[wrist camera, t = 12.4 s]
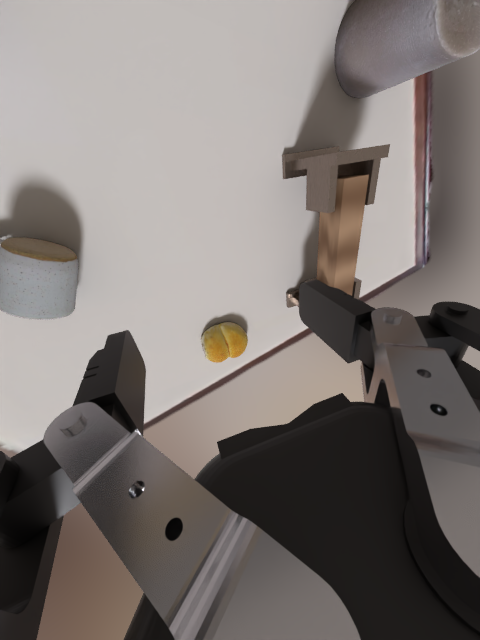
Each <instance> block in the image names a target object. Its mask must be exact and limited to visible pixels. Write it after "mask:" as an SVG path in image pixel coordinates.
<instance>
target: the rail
mask: <svg viewBox="0 0 480 640" xmlns="http://www.w3.org/2000/svg"><path fill="white" fill-rule="evenodd" d="M368 177H369V175H353V176H341V177H337V187H336V199H335V212H331V213H323V212H320V219H319V240H318V261H317V280H319V281H321V282H323V283H324V284H326V285H328V286H330V287H334V288H338V289H340V290H342V291H344V292H346V293H347V295H348V294H349V295H351V296H352V292H353V284H354V277H355V270H356V263H357V256H358V249H359V242H360V234H361V227H362V220H363V213H364V206H365V199H366V192H367V185H368Z"/></svg>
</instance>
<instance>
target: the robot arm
mask: <svg viewBox="0 0 480 640" xmlns="http://www.w3.org/2000/svg"><path fill="white" fill-rule="evenodd" d="M299 314H300V317H301V320H302V321H303V323H304V324H305V325H306V326H307V327H309V328H310V329H311V330H312V331H313V332H314V333H315V334H316V335H317V336H319V337H320V338H321V339H322V340H323V341H324V342H325V343H326V344H327V345H328V346H329V347H331V348H332V349H333V350H334V351H335V352H336V353H337V354H338V355H339V356H341V357H342V358H343V359H344V360H345V361H346V362H347V363H351V362H354V361H356V360H361V361H362V363H361V375H362V385H363V394H364V402H350V401H349V400H348V399H347V398H346V397H345V396H344V394H343V393H341V394H339V395H336V396H333V397H331V398H329V399H326V400H323V401H321V402H318V403H316V404H314V405H312V406H311V407H310V408H308V409H307V410H306V411H304V412H303V413H302V414H300V415H299V416H298V417H297V418H295V419H294V420H292V421H291V422H290V423H288V424H284V425H277V426H269V427H262V428H254V429H249V430H247V431H244V432H241V433H239V434H237V435H234V436H232V437H229V438H227V439H224V440H221V441H219V442H217V444H218V448H219V452H220V453H219V454H218V455H217V456H215V457H214V458H213V459H212V460H211V461H210V462H209V463H208V464H206V466H205V467H204V468H203V469H202V470H201V471H200V473H199V474H198V475H197V477H196V478H195V479H193V478H192V477H191V476H189V475H188V474H187V473H186V472H185V471H183V470H182V469H181V468H180V467H178V466H177V465H176V464H175V463H174V462H172V461H171V460H170V459H169V458H168V457H166V456H165V455H164V454H163V453H161V452H160V451H159V450H158V449H157V448H155V447H154V446H153V445H152V444H151V443H149V442H148V441H147V440H146V439H144V438H143V424H144V400H145V376H146V369H145V364H144V361H143V358H142V356H141V354H140V352H139V350H138V348H137V345H136V343H135V341H134V339H133V337H132V335H131V333H130V332H129V331H128V330H126V331H123V332H119V333H115V334H111V335H109V336H108V337H107V341H106V344H105V347H104V349H102V350H98V351H97V352H96V353H95V355H94V356H93V357H92V358H91V359H90V360H89V363H88V366H87V368H86V371H85V374H84V377H83V378H84V379H83V380H82V382H81V385H80V387H79V390H78V393H77V396H76V398H75V401H74V404H73V407H71V408H69V409H67V410H66V411H64V412H63V413H61V414H60V415H59V416H58V417H57V418H56V419H54V421H53V422H52V423H51V424H50V425H49V427H48V428H47V430H46V432H45V434H44V438H43V440H42V441H40V442H38V443H36V444H35V445H33V446H31V447H29V448H27V449H26V450H24V451H22V452H20V453H19V454H17V455H15V456H13V457H11V458H10V457H8V456H7V455H6V454H4V453H3V452H2V451H0V640H36V638H37V634H38V630H39V625H40V621H41V616H42V612H43V607H44V603H45V598H46V594H47V589H48V584H49V580H50V575H51V571H52V566H53V562H54V557H55V553H56V548H57V543H58V539H59V535H60V530H61V526H62V521H63V516H64V514H66V513H67V512H68V511H70V510H71V509H72V508H74V507H75V506H77V505H78V504H79V503H82V505H83V506H84V507H85V509H86V510H87V512H88V513H89V515H90V516H91V517H92V519H93V520H94V522H95V523H96V525H97V526H98V528H99V529H100V530H101V532H102V533H103V535H104V536H105V538H106V539H107V540H108V542H109V543H110V545H111V546H112V548H113V549H114V550H115V552H116V553H117V555H118V556H119V558H120V559H121V560H122V562H123V563H124V565H125V566H126V568H127V569H128V570H129V572H130V573H131V575H132V576H133V578H134V579H135V580H136V581H137V583H138V585H139V586H140V587H141V589H142V590H143V592H144V593H143V596H142V598H141V600H140V603H139V605H138V607H137V610H136V612H135V614H134V617H133V619H132V621H131V624H130V626H129V628H128V631H127V633H126V635H125V638H124V640H480V371H479V370H477V369H476V368H474V367H472V366H471V365H469V364H468V363H466V362H464V361H462V358H463V356H464V354H465V352H466V350H467V348H468V346H471V347H473V348H475V349H477V350H478V351H480V309H477V308H475V307H473V306H470V305H467V304H462V303H458V302H439V303H436V304H434V305H433V307H432V310H431V313H430V315H429V316H418V317H414V316H413V315H411V314H410V313H409V312H407V311H404V310H401V309H397V308H389V307H384V308H378V309H375V308H373V307H370V306H369V305H367V304H366V303H364V302H362V301H360V300H358V299H356V298H354V297H353V296H351V295H349V294H348V295H347V293H346V292H344V291H342V290H340V289H338V288H334V287H330V286H328V285H326V284H324V283H323V282H321V281H319V280H317V279H315V280H311V281H308V282H304V283H301V284H300V287H299Z"/></svg>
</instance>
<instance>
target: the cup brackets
mask: <svg viewBox="0 0 480 640" xmlns="http://www.w3.org/2000/svg"><path fill="white" fill-rule="evenodd" d="M389 147H390V144H389V145H382V146H376V147H369V148H362V149H356V150H349V151H343V152H339V146H338V147H331V148H324V149H318V150H311V151H304V152H297V153H291V154H284V155H282V162H283V179H288V178H293V177H299V176H305V175H307V195H306V210H310V211H316V212H323V213H331V212H335V199H336V187H337V177H341V176H353V175H369V177H368V185H367V192H366V199H365V205H369V204H374V198H375V192H376V186H377V179H378V173H379V167H380V160H381V158H385V157H388V153H389ZM315 279H317V278H313V279H309V280H306V281H305V282H308V281H311V280H315ZM360 287H361V280H359V279H357V278H355V277H354V284H353V292H352V296H353V297H354V298H356V299H358V300H359V294H360ZM286 298H287V307H288V308H290V307H293V306H298V307H299V289H298V290H295V291H291V292H287V293H286Z"/></svg>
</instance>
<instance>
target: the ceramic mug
mask: <svg viewBox="0 0 480 640" xmlns="http://www.w3.org/2000/svg"><path fill="white" fill-rule="evenodd" d="M0 244H1V246H0V310H1V311H3V312H5V313H7V314H10V315H12V316H16V317H21V318H26V319H38V320H50V319H57V318H61V317H65V316H68V315H70V314H71V313H72V312H73V311H74V309H75V301H76V289H77V276H78V259H77V255H76V254H75V253H74V252H73V251H72V250H71V249H69V248H67V247H65V246H62V245H59V244H56V243H52V242H49V241H44V240H39V239H32V238H23V237H13V238H8V239H6V240H2V239H0Z"/></svg>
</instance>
